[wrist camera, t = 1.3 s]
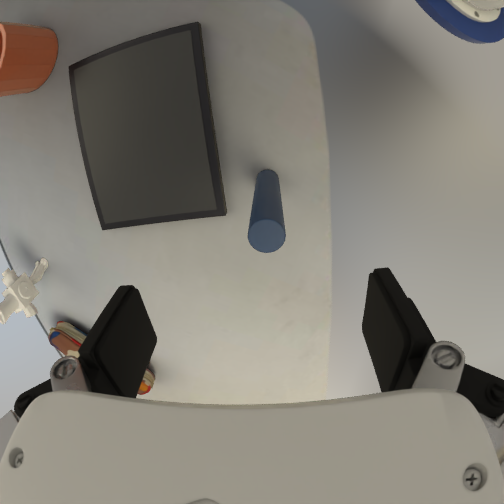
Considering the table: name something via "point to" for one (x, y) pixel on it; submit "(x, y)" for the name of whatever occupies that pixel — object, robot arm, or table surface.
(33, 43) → the pen cup
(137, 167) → the tablet
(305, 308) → the table surface
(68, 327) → the pencil case
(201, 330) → the table surface
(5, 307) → the toy robot
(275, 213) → the stylus
